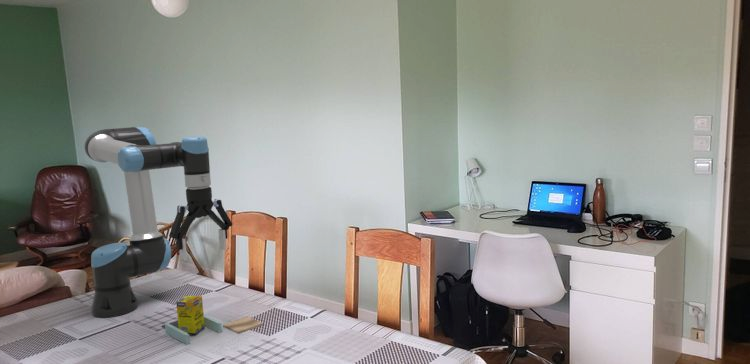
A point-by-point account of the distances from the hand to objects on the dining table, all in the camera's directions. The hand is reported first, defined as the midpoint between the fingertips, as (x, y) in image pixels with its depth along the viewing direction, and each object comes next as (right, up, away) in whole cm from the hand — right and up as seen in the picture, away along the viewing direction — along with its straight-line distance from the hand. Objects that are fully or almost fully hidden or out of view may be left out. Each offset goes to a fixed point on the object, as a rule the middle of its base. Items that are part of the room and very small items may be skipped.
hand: (204, 254), depth 173 cm
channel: (-4, -25, +3) cm, 26 cm away
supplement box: (-5, -25, +3) cm, 26 cm away
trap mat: (-11, -25, +9) cm, 28 cm away
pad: (+11, -24, +6) cm, 27 cm away
